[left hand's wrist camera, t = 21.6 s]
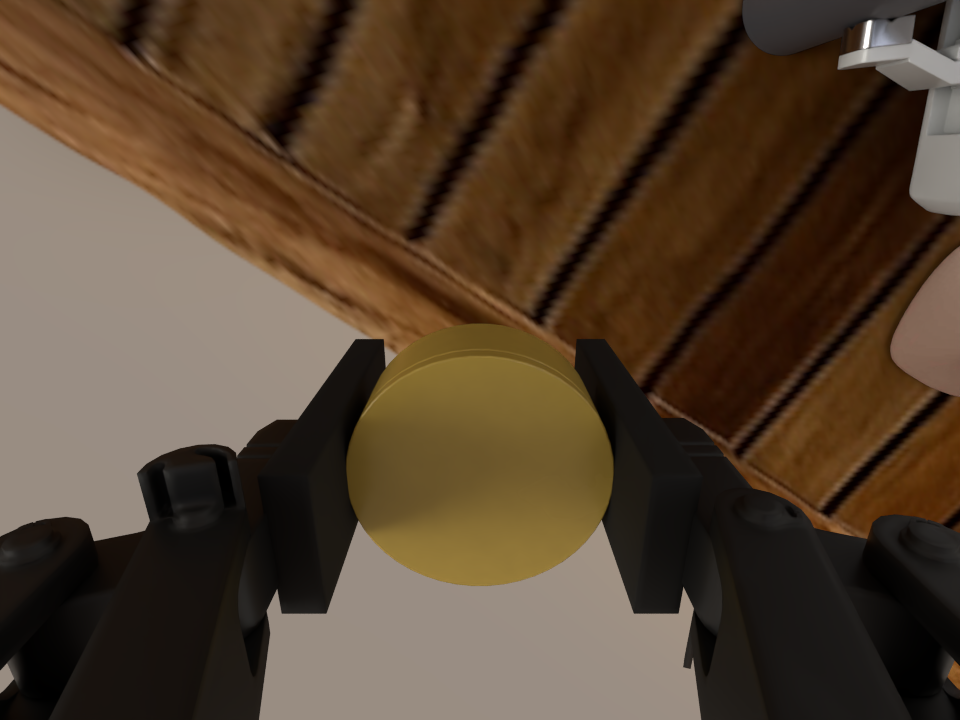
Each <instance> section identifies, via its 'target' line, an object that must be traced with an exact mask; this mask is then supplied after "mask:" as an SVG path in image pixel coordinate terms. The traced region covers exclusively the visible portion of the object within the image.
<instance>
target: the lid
mask: <svg viewBox="0 0 960 720" xmlns="http://www.w3.org/2000/svg"><path fill="white" fill-rule="evenodd" d="M346 472H347V482H348V491H349V498H350V502H351V505H352V507H353V509H354V512H355V514H356V516H357V518H358V520H359V522H360V523H361V525H362V527H363V528H364V530H365V531H366V533H367V534H368V535H369V536H370V537H371V539H372V540H373V541H374V542H375V543H376V544H377V545H378V546H379V547H380V548H381V549H382V550H383V551H384V552H385V553H386V554H388V555H389V556H390V557H392V558H393V559H394V560H396V561H397V562H399V563H400V564H402V565H404V566H405V567H407V568H409V569H410V570H413V571H415V572H417V573H419V574H422V575H424V576H427V577H430V578H433V579H436V580H439V581H443V582H448V583H453V584H459V585H468V586H491V585H501V584H507V583H512V582H517V581H521V580H524V579H527V578H530V577H533V576H536V575H538V574H541V573H543V572H545V571H547V570H549V569H551V568H553V567H554V566H556V565H558V564H560V563H561V562H563V561H564V560H566V559H567V558H568V557H570V556H571V555H572V554H573V553H575V552H576V551H577V550H578V549H579V548H580V547H581V546H582V545H583V544H584V543H585V542H586V541H587V540H588V539H589V537H590V536H591V535H592V534H593V532H594V531H595V530H596V528H597V526H598V525H599V523H600V521H601V520H602V518H603V516H604V514H605V511H606V509H607V507H608V504H609V501H610V497H611V493H612V484H613V475H614V457H613V452H612V447H611V442H610V440H609V437H608V434H607V431H606V429H605V427H604V424H603V422H602V420H601V418H600V416H599V414H598V412H597V410H596V408H595V406H594V404H593V401H592V399H591V397H590V395H589V393H588V391H587V389H586V387H585V385H584V383H583V381H582V380H581V378H580V376H579V374H578V373H577V371H576V370H575V369H574V367H573V366H572V365H571V364H570V362H569V361H568V360H567V359H566V358H565V357H564V356H563V355H562V354H561V353H560V352H558V351H557V350H556V349H554V348H553V347H552V346H550V345H549V344H548V343H546V342H544V341H543V340H541V339H539V338H537V337H535V336H534V335H531V334H529V333H526V332H524V331H521V330H518V329H514V328H510V327H506V326H501V325H493V324H466V325H459V326H453V327H449V328H446V329H442V330H439V331H436V332H434V333H431V334H429V335H426V336H424V337H423V338H421V339H419V340H417V341H416V342H414V343H412V344H411V345H409V346H408V347H407V348H405V349H404V350H403V351H402V352H400V353H399V354H398V355H397V356H396V357H395V358H394V359H393V360H392V361H391V362H390V363H389V365H388V366H387V367H386V369H385V370H384V371H383V373H382V374H381V376H380V377H379V379H378V381H377V383H376V385H375V387H374V389H373V391H372V393H371V395H370V397H369V399H368V401H367V403H366V405H365V407H364V410H363V412H362V414H361V416H360V418H359V420H358V422H357V424H356V426H355V428H354V431H353V434H352V436H351V439H350V442H349V446H348V451H347V456H346Z"/></svg>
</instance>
